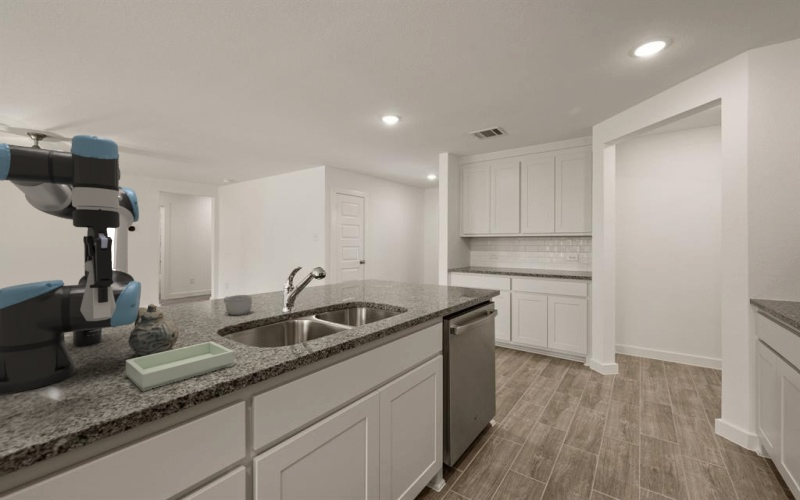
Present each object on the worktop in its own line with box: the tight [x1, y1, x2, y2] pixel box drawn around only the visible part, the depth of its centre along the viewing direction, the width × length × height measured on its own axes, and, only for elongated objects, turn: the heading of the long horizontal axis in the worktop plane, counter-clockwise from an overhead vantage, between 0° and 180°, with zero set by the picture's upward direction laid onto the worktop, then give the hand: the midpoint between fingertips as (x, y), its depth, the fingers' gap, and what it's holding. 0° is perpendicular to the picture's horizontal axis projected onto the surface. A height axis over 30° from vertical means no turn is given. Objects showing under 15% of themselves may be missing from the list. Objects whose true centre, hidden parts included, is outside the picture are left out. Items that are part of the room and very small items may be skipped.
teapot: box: [128, 303, 179, 357], centre depth 96 cm, size 21×12×15 cm, turn 59°
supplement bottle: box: [72, 328, 103, 347], centre depth 106 cm, size 7×7×12 cm
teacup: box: [223, 294, 253, 317], centre depth 150 cm, size 14×11×8 cm
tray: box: [125, 340, 235, 392], centre depth 85 cm, size 20×14×4 cm
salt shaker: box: [80, 260, 116, 321], centre depth 72 cm, size 6×6×13 cm
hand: (98, 314), depth 72 cm, fingers closed on salt shaker, 6 cm apart
